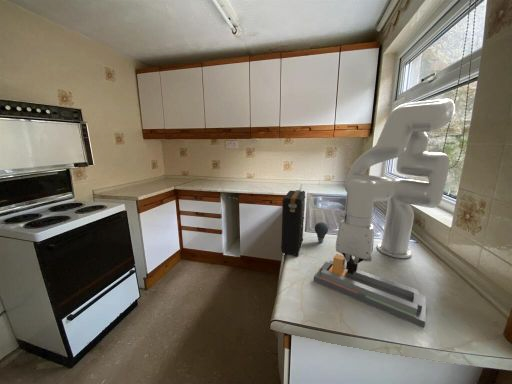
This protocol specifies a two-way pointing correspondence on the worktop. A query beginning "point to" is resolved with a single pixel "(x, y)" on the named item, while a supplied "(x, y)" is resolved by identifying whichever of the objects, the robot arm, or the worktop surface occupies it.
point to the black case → (292, 222)
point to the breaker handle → (339, 265)
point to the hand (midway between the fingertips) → (351, 271)
